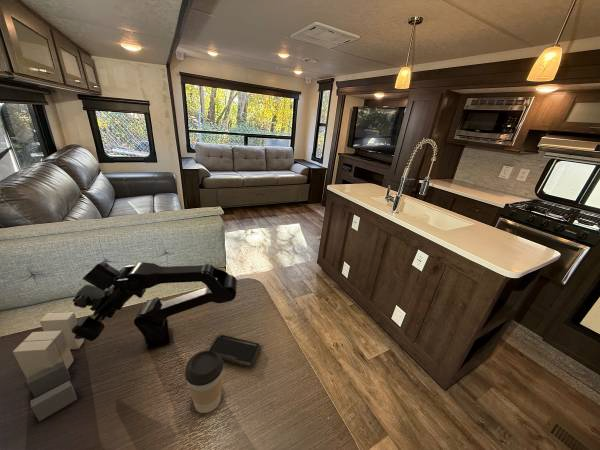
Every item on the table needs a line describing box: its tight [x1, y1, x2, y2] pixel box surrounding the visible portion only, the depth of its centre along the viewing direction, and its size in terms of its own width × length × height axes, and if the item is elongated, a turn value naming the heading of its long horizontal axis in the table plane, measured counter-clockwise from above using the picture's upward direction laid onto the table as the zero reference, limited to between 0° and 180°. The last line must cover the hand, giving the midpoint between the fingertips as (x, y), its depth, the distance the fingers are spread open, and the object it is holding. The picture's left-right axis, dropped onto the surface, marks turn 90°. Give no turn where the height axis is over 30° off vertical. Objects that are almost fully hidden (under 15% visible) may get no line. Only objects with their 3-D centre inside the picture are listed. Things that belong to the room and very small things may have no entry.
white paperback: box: [39, 311, 85, 350], centre depth 75 cm, size 7×3×12 cm, turn 100°
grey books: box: [26, 361, 78, 422], centre depth 63 cm, size 7×10×6 cm
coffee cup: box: [184, 349, 224, 414], centre depth 64 cm, size 9×9×15 cm
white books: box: [12, 331, 74, 379], centre depth 67 cm, size 7×6×12 cm
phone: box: [209, 334, 261, 367], centre depth 80 cm, size 8×1×15 cm
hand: (85, 325), depth 76 cm, fingers open, 9 cm apart
